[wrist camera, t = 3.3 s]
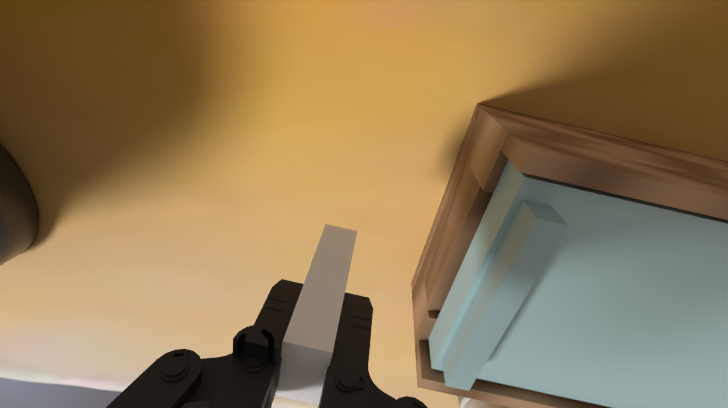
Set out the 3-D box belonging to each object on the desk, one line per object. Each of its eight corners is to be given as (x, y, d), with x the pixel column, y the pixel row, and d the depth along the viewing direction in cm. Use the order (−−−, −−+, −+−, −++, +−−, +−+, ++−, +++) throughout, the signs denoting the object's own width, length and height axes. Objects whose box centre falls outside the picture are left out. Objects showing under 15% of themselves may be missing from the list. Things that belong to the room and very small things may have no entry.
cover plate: (428, 338, 20) (434, 395, 17) (508, 158, 14) (539, 194, 11) (696, 397, 20) (750, 463, 17) (878, 244, 15) (1006, 301, 12)
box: (411, 282, 26) (417, 387, 18) (477, 103, 19) (529, 151, 12) (632, 331, 26) (727, 453, 19) (772, 172, 19) (1009, 262, 12)
